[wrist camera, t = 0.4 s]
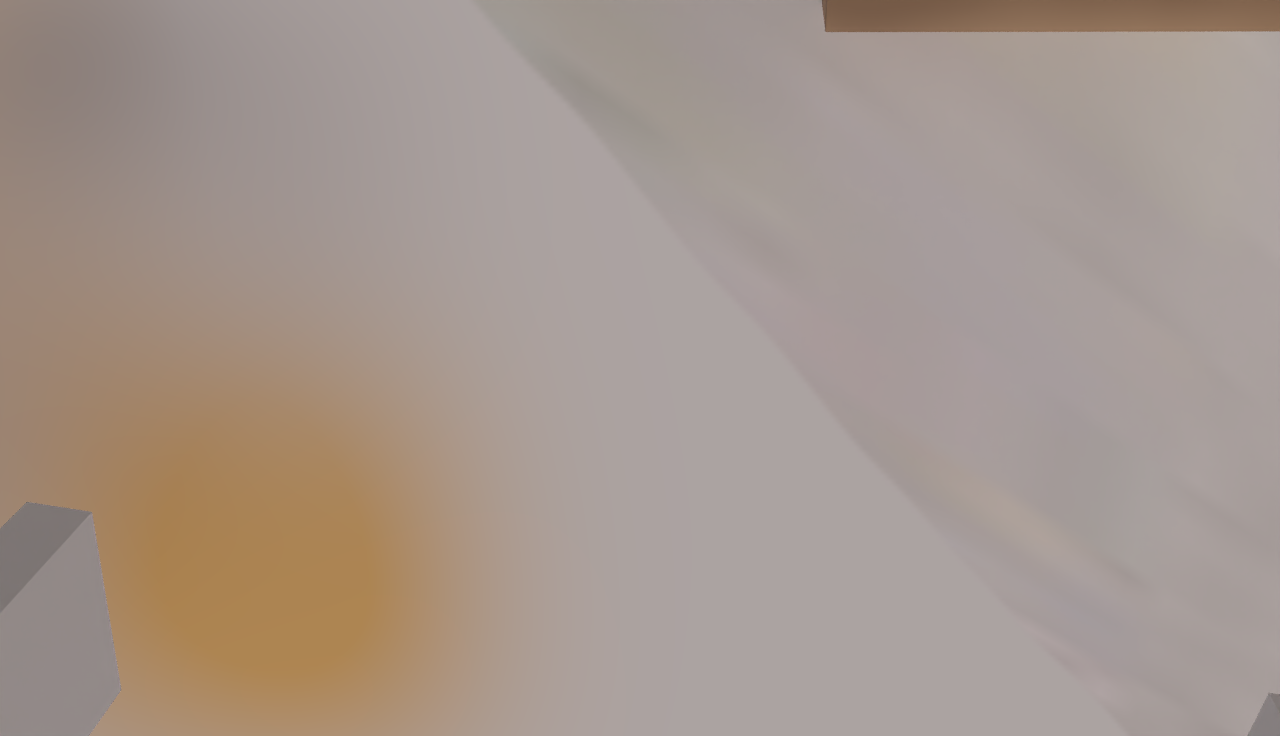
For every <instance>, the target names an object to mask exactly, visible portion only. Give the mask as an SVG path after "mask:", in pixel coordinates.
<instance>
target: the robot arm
mask: <svg viewBox="0 0 1280 736" xmlns="http://www.w3.org/2000/svg"><path fill="white" fill-rule="evenodd" d="M120 691H121V685H120V679H119V673H118V667H117V661H116V656H115V649H114V643H113V637H112V631H111V625H110V619H109V613H108V607H107V602H106V596H105V589H104V583H103V577H102V571H101V564H100V559H99V552H98V547H97V540H96V534H95V528H94V522H93V516H92V512H88V511H82V510H76V509H69V508H62V507H56V506H50V505H43V504H37V503H30V502H26V503H25V504H24V505H23V507H22V508H20V509H19V511H18V512H16V513H15V515H13V516H12V517H11V518H10V519H9V520H8V521H7V522H6V523H5V524H4V525H3V526H2V527H1V529H0V736H89V735H90V733H91V732H92V731H93V729H94V728H95V726H96V725H97V724H98V722H99V721H100V719H101V718H102V716H103V715H104V714H105V712H106V711H107V709H108V708H109V706H110V705H111V704H112V702H113V701H114V699H115V698H116V696H117V695H118V694H119V692H120ZM1248 736H1280V695H1279V694H1273V693H1269V694H1268V696H1267V698H1266V700H1265V702H1264V704H1263V706H1262V708H1261V710H1260V712H1259V714H1258V716H1257V718H1256V720H1255V722H1254V724H1253V726H1252V728H1251V730H1250V732H1249V734H1248Z"/></svg>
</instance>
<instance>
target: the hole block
mask: <svg viewBox="0 0 1280 736" xmlns="http://www.w3.org/2000/svg"><path fill="white" fill-rule="evenodd" d="M822 7H823V15H824V22H825V30H826V32H1116V31H1280V0H822Z"/></svg>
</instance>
